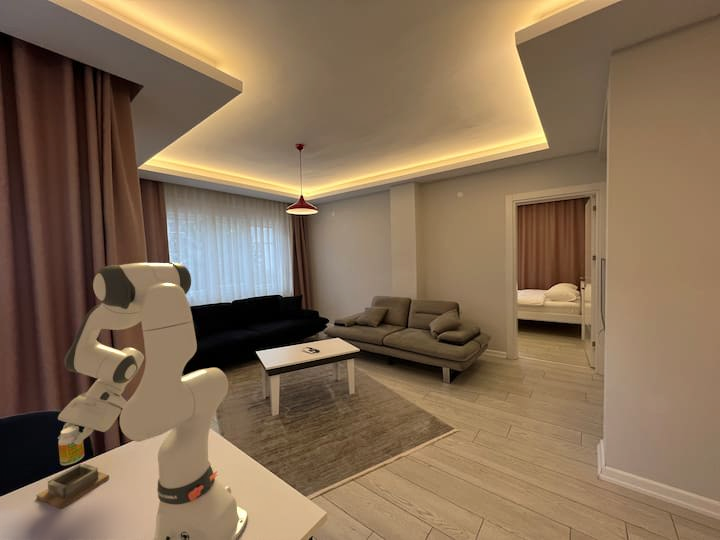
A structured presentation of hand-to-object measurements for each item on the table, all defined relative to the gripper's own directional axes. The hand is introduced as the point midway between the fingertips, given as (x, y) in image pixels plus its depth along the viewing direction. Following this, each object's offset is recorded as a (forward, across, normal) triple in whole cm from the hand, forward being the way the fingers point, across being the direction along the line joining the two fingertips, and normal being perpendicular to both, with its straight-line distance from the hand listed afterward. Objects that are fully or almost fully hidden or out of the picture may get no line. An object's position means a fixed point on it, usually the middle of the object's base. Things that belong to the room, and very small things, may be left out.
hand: (68, 442), depth 91 cm
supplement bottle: (+4, 0, +5) cm, 6 cm away
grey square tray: (+10, 0, +11) cm, 15 cm away
